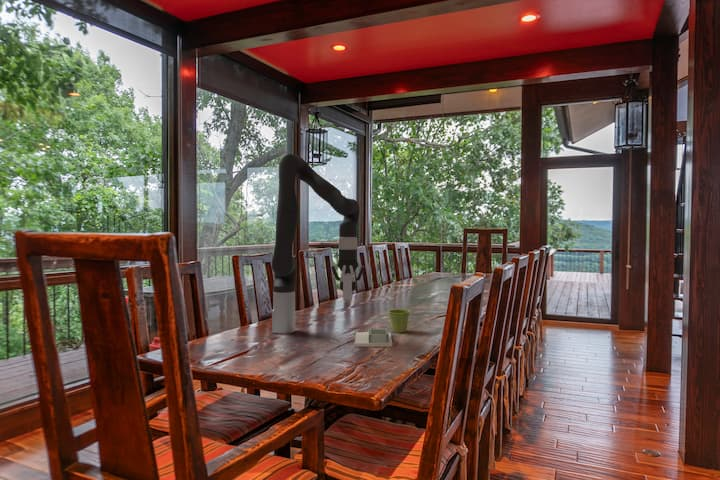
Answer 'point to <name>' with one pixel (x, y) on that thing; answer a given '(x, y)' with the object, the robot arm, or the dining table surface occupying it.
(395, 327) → the plant pot
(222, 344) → the dining table surface
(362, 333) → the beige rectangular tray
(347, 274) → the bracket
